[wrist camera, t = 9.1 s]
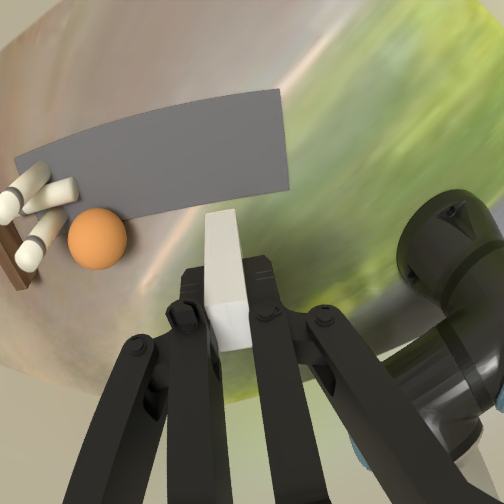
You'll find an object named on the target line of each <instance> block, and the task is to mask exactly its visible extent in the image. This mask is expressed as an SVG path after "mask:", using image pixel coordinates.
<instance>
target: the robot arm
mask: <svg viewBox="0 0 504 504" xmlns="http://www.w3.org/2000/svg"><path fill="white" fill-rule="evenodd" d="M397 264H398V268H399V270H400V272H401V274H402V275H403V277H404V278H405V280H406V281H407V283H408V284H409V285H410V286H411V287H412V288H413V289H414V290H415V291H417V292H418V293H420V294H421V295H423V296H424V297H426V298H427V299H429V300H430V301H431V302H433V303H434V304H436V305H437V306H439V307H440V308H441V310H442V311H443V313H444V314H445V316H446V317H447V318H445V319H444V320H443V321H441V322H440V323H439V324H437V325H436V326H434V327H433V328H432V329H430V330H429V331H427V332H426V333H425V334H423V335H422V336H420V337H419V338H418V339H416V340H415V341H413V342H412V343H410V344H409V345H407V346H406V347H404V348H403V349H401V350H400V351H398V352H397V353H395V354H394V355H392V356H390V357H389V358H387V359H386V360H384V361H383V362H380V361H379V359H378V358H377V357H376V356H375V354H374V353H373V352H372V350H371V349H370V348H369V346H368V345H367V344H366V343H365V341H364V340H363V339H362V337H361V336H360V335H359V334H358V332H357V331H356V330H355V329H354V327H353V326H352V325H351V323H350V322H349V321H348V320H347V318H346V317H345V316H344V315H343V313H342V312H341V311H340V310H339V309H338V308H336V307H334V306H332V305H318V306H315V307H314V308H312V309H311V310H310V311H309V312H308V313H298V312H293V311H290V310H288V309H287V308H285V307H284V306H283V305H282V303H281V301H280V297H279V293H278V289H277V285H276V281H275V277H274V273H273V269H272V265H271V261H270V260H269V259H268V258H267V257H266V256H265V255H261V256H255V257H250V258H244V259H243V253H242V247H241V242H240V236H239V231H238V225H237V220H236V214H235V209H229V210H223V211H217V212H212V213H206V214H205V263H204V266H201V267H195V268H189V269H186V270H185V272H184V274H183V275H182V277H181V287H180V298H179V300H177V301H175V302H173V303H172V304H171V305H170V306H169V307H168V308H167V310H166V313H165V314H166V316H167V318H168V321H169V323H170V325H171V327H172V329H171V330H170V331H169V332H167V333H165V334H163V335H161V336H159V337H156V338H154V339H152V338H151V337H150V336H149V335H146V334H137V335H135V336H132V337H131V338H129V339H128V340H127V341H126V342H125V344H124V345H123V347H122V349H121V352H120V354H119V356H118V358H117V361H116V363H115V365H114V367H113V370H112V372H111V374H110V377H109V379H108V381H107V384H106V386H105V389H104V391H103V393H102V396H101V398H100V401H99V403H98V406H97V409H96V411H95V413H94V416H93V418H92V421H91V423H90V426H89V429H88V431H87V434H86V437H85V439H84V442H83V444H82V447H81V450H80V453H79V456H78V458H77V461H76V464H75V467H74V470H73V473H72V476H71V479H70V482H69V485H68V488H67V491H66V494H65V497H64V500H63V503H62V504H142V503H143V500H144V496H145V492H146V488H147V485H148V481H149V477H150V473H151V470H152V466H153V463H154V459H155V455H156V452H157V448H158V445H159V441H160V437H161V434H162V431H163V427H164V424H165V420H166V417H167V414H168V418H167V501H168V504H233V497H232V487H231V478H230V468H229V457H228V446H227V435H226V423H225V411H224V398H223V384H222V370H221V362H220V359H219V356H218V348H219V351H220V352H224V351H231V350H238V349H244V348H250V347H253V354H254V361H255V368H256V375H257V382H258V389H259V396H260V403H261V410H262V417H263V424H264V431H265V438H266V444H267V451H268V457H269V464H270V471H271V477H272V484H273V490H274V496H275V503H276V504H332V503H331V501H330V499H329V496H328V492H327V488H326V483H325V479H324V475H323V470H322V466H321V461H320V457H319V452H318V448H317V444H316V439H315V435H314V431H313V426H312V422H311V418H310V414H309V409H308V406H307V401H306V397H305V393H304V388H303V384H302V380H301V376H300V371H299V367H298V364H306V365H308V367H309V368H310V370H311V372H312V373H313V375H314V377H315V378H316V380H317V382H318V383H319V385H320V386H321V388H322V390H323V392H324V393H325V394H326V397H327V398H328V400H329V401H330V403H331V405H332V406H333V408H334V410H335V411H336V413H337V415H338V416H339V418H340V420H341V421H342V423H343V425H344V426H345V428H346V429H347V431H348V434H349V438H350V441H351V444H352V447H353V449H354V452H355V454H356V456H357V458H358V459H359V461H360V462H361V464H362V465H363V466H364V467H366V468H367V470H369V471H372V472H373V473H374V475H375V477H376V478H377V480H378V482H379V483H380V485H381V486H382V488H383V490H384V491H385V493H386V494H387V496H388V498H389V499H390V501H391V503H392V504H504V503H502V502H500V500H499V497H498V494H497V492H496V489H495V487H494V484H493V482H492V479H491V477H490V474H489V472H488V469H487V467H486V465H485V462H484V460H483V458H482V456H481V453H480V451H479V449H478V447H477V445H478V443H479V441H480V439H481V436H482V434H483V425H482V423H481V421H480V419H479V417H478V416H480V415H481V414H483V413H484V412H485V411H487V410H488V409H490V408H491V407H492V406H494V405H495V407H496V409H497V410H499V411H500V412H501V413H504V238H503V236H502V234H501V232H500V230H499V228H498V226H497V224H496V222H495V220H494V219H493V217H492V215H491V213H490V211H489V209H488V208H487V206H486V205H485V204H484V203H483V202H482V201H481V200H480V199H478V198H477V197H476V196H475V195H474V194H472V193H471V192H469V191H466V190H460V189H456V190H450V191H446V192H443V193H441V194H439V195H437V196H435V197H434V198H432V199H431V200H429V201H428V202H427V203H426V204H424V205H423V206H422V207H421V208H420V209H419V210H418V211H417V212H416V214H415V215H414V216H413V217H412V219H411V220H410V222H409V223H408V225H407V226H406V228H405V230H404V232H403V234H402V237H401V239H400V242H399V246H398V251H397ZM459 367H460V368H459ZM477 402H478V403H477Z"/></svg>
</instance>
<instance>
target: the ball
mask: <svg viewBox="0 0 504 504" xmlns="http://www.w3.org/2000/svg"><path fill="white" fill-rule="evenodd" d="M126 242H127V235H126V230H125V227H124V225H123V223H122V221H121V220H120V218H119V217H118V216H117V215H116V214H114V213H113V212H111V211H110V210H107V209H104V208H91V209H88V210H86V211H84V212H82V213H81V214H79V215H78V216H77V217H76V218H75V219H74V221H73V222H72V224H71V226H70V229H69V233H68V246H69V250H70V252H71V254H72V256H73V258H74V259H75V260H76V261H77V262H78V263H79V264H80V265H82V266H83V267H85V268H88V269H91V270H103V269H106V268H109V267H111V266H112V265H114V264H115V263H116V262H117V261H118V260H119V259H120V258H121V256H122V255H123V253H124V250H125V247H126Z"/></svg>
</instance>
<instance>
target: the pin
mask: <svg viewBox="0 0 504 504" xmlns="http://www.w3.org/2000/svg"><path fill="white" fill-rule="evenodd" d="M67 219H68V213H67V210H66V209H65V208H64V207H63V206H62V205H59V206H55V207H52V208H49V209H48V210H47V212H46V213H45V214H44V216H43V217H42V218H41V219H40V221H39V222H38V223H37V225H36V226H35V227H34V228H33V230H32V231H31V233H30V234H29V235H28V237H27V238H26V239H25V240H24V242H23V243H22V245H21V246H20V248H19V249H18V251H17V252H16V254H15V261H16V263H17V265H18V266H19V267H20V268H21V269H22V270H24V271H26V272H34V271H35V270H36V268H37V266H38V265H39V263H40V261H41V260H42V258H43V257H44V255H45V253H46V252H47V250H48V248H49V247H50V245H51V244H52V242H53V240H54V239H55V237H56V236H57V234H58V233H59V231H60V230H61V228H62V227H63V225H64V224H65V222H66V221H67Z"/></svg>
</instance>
